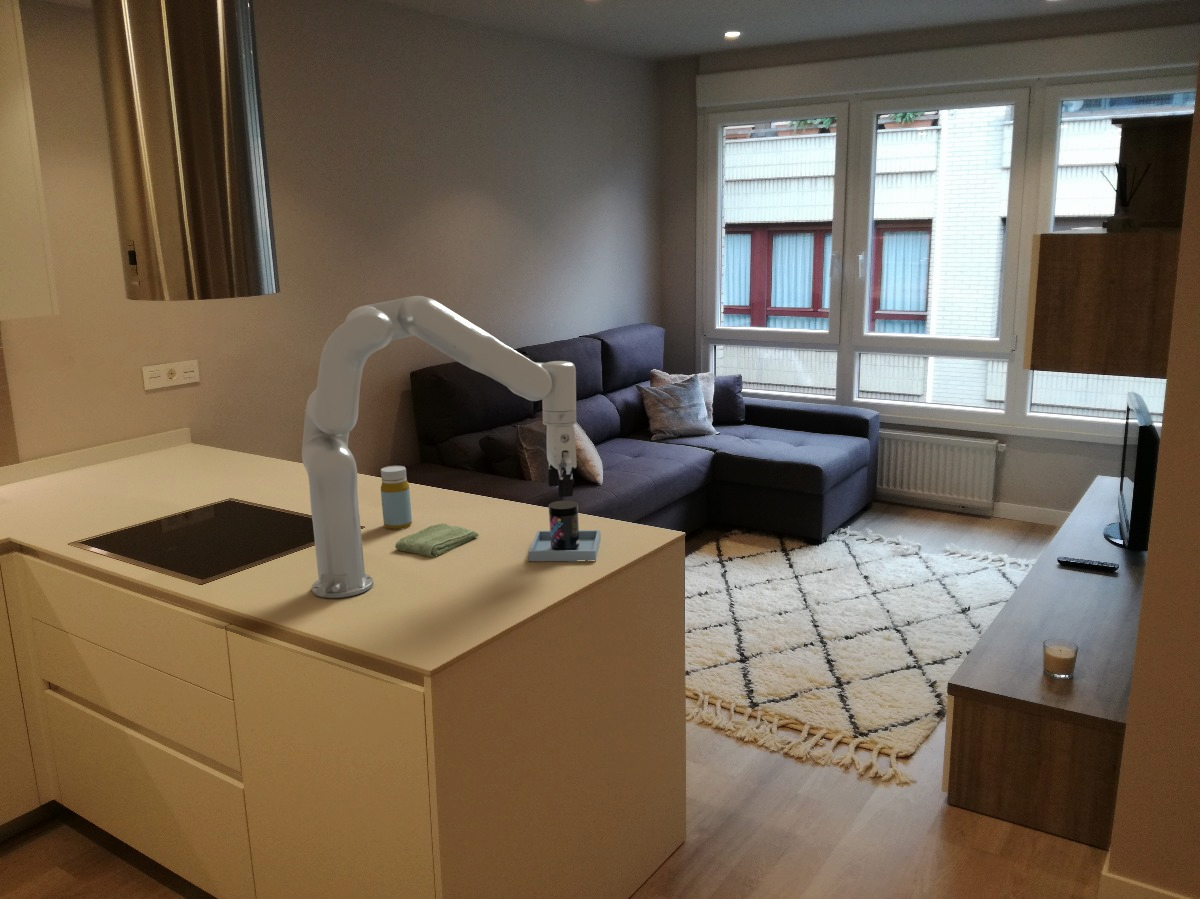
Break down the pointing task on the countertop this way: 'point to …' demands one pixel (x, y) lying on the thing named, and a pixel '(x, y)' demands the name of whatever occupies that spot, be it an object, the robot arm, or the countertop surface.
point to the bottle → (395, 497)
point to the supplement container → (564, 525)
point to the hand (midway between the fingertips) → (560, 491)
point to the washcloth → (435, 540)
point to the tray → (585, 551)
